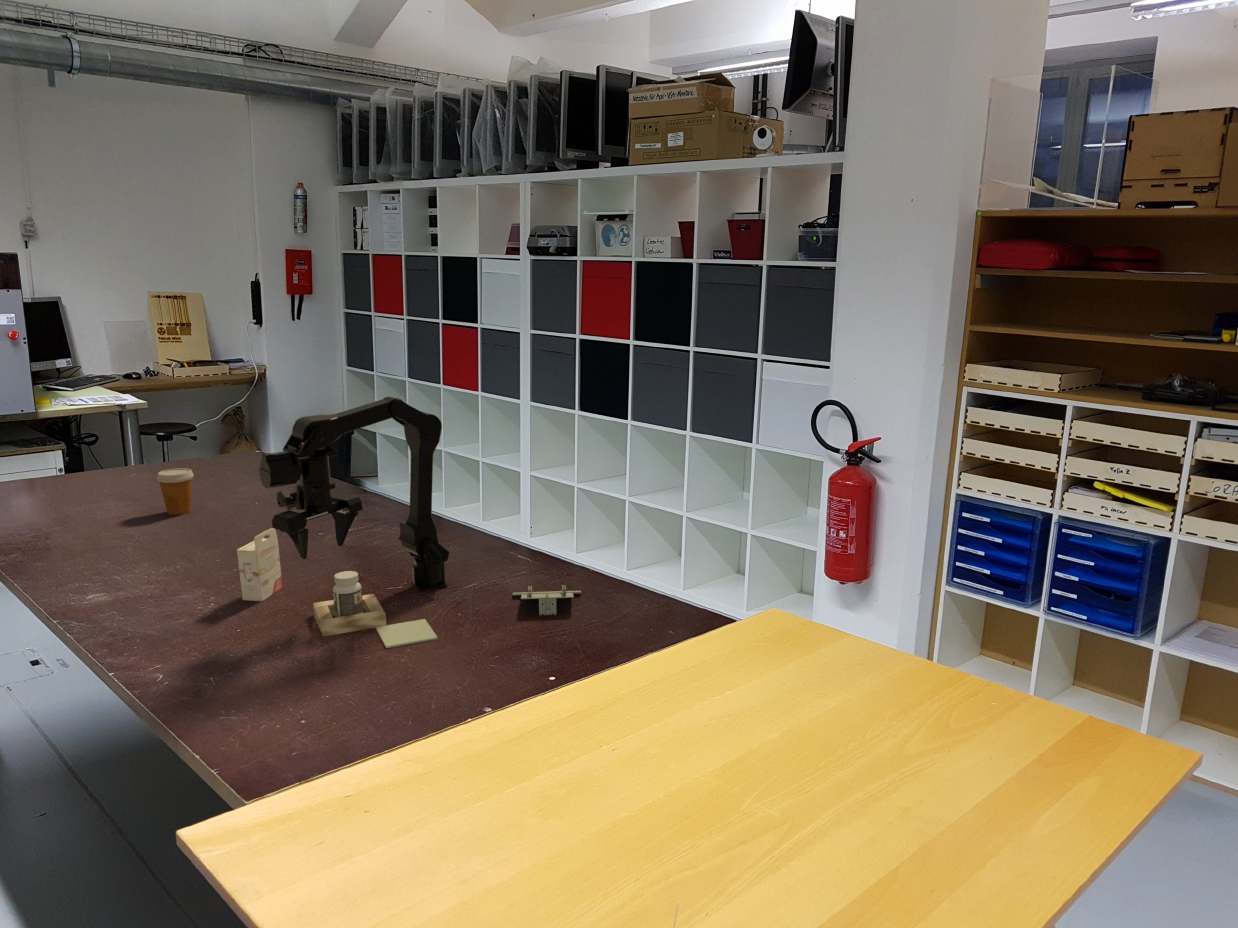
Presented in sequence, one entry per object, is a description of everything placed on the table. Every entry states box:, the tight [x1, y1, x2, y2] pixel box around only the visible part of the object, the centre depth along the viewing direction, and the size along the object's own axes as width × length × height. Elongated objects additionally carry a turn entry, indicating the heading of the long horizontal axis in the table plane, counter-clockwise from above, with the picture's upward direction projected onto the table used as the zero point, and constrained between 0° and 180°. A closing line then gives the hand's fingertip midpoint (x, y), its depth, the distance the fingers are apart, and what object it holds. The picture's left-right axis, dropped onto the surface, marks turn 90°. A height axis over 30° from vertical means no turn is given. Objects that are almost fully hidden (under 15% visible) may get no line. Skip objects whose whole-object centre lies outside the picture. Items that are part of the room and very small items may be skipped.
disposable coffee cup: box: [156, 467, 194, 516], centre depth 266 cm, size 10×10×12 cm
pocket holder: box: [312, 593, 387, 637], centre depth 191 cm, size 12×12×2 cm
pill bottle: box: [332, 570, 365, 618], centre depth 190 cm, size 6×6×10 cm
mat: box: [375, 618, 438, 649], centre depth 185 cm, size 10×10×1 cm
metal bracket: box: [512, 584, 582, 616], centre depth 201 cm, size 14×6×15 cm
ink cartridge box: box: [236, 527, 283, 602], centre depth 204 cm, size 9×5×15 cm, turn 168°
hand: (322, 552), depth 192 cm, fingers open, 9 cm apart
